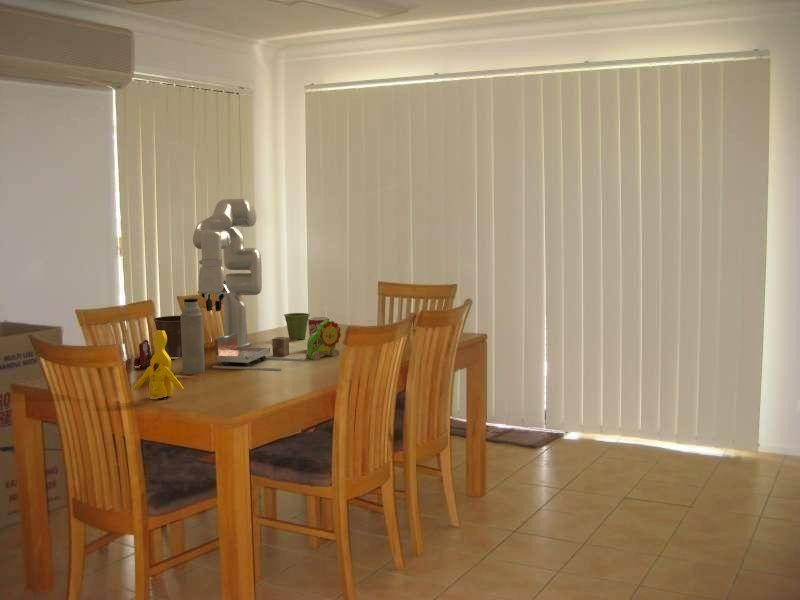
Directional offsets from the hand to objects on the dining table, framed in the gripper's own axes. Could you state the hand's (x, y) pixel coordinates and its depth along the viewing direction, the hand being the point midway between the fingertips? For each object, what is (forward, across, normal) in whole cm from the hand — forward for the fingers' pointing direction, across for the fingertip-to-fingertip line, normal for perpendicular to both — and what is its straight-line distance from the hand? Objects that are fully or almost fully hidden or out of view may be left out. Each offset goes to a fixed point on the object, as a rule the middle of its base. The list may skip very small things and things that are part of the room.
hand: (213, 310), depth 360 cm
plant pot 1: (+21, -24, +11) cm, 34 cm away
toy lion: (+22, +37, +21) cm, 48 cm away
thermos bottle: (+21, +1, -19) cm, 29 cm away
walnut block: (+21, +19, +19) cm, 34 cm away
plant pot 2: (+21, +7, +64) cm, 68 cm away
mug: (+21, +27, +41) cm, 54 cm away
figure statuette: (+21, +10, -57) cm, 62 cm away
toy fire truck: (+22, -24, -11) cm, 34 cm away
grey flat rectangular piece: (+21, +18, 0) cm, 28 cm away
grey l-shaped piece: (+20, +12, 0) cm, 24 cm away
